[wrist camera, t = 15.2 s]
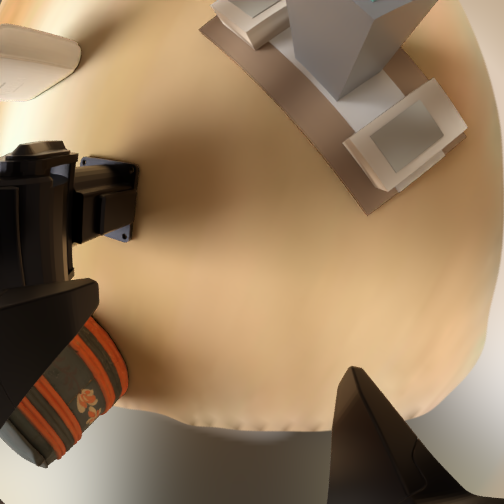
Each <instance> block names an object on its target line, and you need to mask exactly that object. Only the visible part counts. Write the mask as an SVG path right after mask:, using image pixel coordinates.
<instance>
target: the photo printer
mask: <svg viewBox="0 0 504 504" xmlns="http://www.w3.org/2000/svg"><path fill="white" fill-rule="evenodd" d="M80 57H81V49H80V47H79V46H78V43H77V42H75V41H73V40H70V39H67V38H64V37H60V36H57V35H54V34H50V33H46V32H43V31H39V30H35V29H31V28H27V27H22V26H18V25H13V24H1V25H0V101H28V100H31V99H33V98H34V97H36V96H38V95H39V94H41V93H42V92H44V91H45V90H47V89H48V88H50V87H52V86H53V85H55V84H56V83H58V82H59V81H61V80H62V79H64V78H65V77H67V76H68V75H70V74H71V73H72V72H73V71H74V70H75V68H76V67H77V66H78V63H79V61H80Z"/></svg>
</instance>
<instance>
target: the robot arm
mask: <svg viewBox="0 0 504 504" xmlns="http://www.w3.org/2000/svg"><path fill="white" fill-rule="evenodd" d="M77 161H78V153H71V152H70V150H67V149H66V148H65V146H64V143H63V141H38V142H31V143H25V144H20V145H19V146H18V147H17V148H16V149H15V150H14V151H13V152H12V153H9V154H6V155H5V156H2V157H0V430H1V428H2V427H3V425H4V424H5V423H6V421H7V420H8V418H9V417H10V416H11V414H12V413H13V412H14V410H15V408H16V407H17V406H18V405H19V403H20V402H21V401H22V400H23V398H24V397H25V396H26V394H27V393H28V392H29V391H30V389H31V388H32V387H33V386H34V384H35V383H36V382H37V381H38V379H39V378H40V377H41V376H42V375H43V373H44V372H45V371H46V370H47V369H48V367H49V366H50V365H51V364H52V363H53V361H54V360H55V359H56V358H57V357H58V356H59V355H60V353H61V352H62V351H63V350H64V349H65V348H66V347H67V345H68V344H69V343H70V342H71V341H72V340H73V339H74V337H75V336H76V335H77V334H78V333H79V331H80V330H81V329H82V327H83V326H84V324H85V323H86V322H87V320H88V319H89V318H90V316H91V315H92V314H93V312H94V311H95V310H96V308H97V307H98V305H99V286H98V283H97V282H96V281H94V280H92V279H90V278H85V279H77V280H71V279H72V278H73V276H74V268H73V263H72V247H73V246H75V245H77V244H82V243H84V242H87V241H89V240H91V239H94V238H96V237H98V236H103V235H104V236H107V237H110V238H113V239H116V240H119V241H122V242H128V241H130V240H131V238H132V227H133V222H134V214H135V205H136V196H137V192H136V189H137V182H138V175H139V167H138V165H137V164H134V163H128V162H122V161H115V160H108V159H101V158H94V157H83V158H82V159H81V163H80V167H75V166H76V162H77ZM85 161H86V164H85ZM132 168H134V172H132ZM125 234H126V236H127V238H126V237H125ZM331 442H332V443H331V461H330V477H329V489H328V499H327V504H504V499H503V498H492V497H483V496H477V495H474V494H471V493H470V492H468V491H466V490H465V489H464V488H463V487H462V486H461V485H460V484H459V483H458V482H457V481H456V480H455V479H454V478H453V477H452V476H451V475H450V474H449V473H448V472H447V471H446V470H445V469H444V467H443V466H442V465H441V464H440V463H439V462H438V461H437V460H436V459H435V458H434V457H433V455H432V454H431V453H430V452H429V451H428V450H427V448H426V447H425V446H424V445H423V443H422V442H421V441H420V440H419V439H417V436H416V435H415V433H414V432H413V431H412V429H411V428H410V427H409V426H408V424H407V423H406V422H405V421H404V419H403V418H402V417H401V416H400V414H399V413H398V412H397V411H396V409H395V408H394V407H393V406H392V404H391V403H390V402H389V401H388V399H387V398H386V397H385V396H384V394H383V393H382V392H381V391H380V390H379V388H378V387H377V386H376V385H375V383H374V382H373V381H372V380H371V378H370V377H369V376H368V375H367V373H366V372H365V371H364V370H363V369H362V368H359V367H355V366H351V367H349V368H348V370H347V371H346V373H345V375H344V376H343V378H342V380H341V381H340V383H339V386H338V389H337V397H336V404H335V412H334V418H333V425H332V441H331ZM0 504H4V503H3V502H2V501H1V499H0Z"/></svg>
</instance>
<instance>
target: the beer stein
mask: <svg viewBox="0 0 504 504" xmlns="http://www.w3.org/2000/svg"><path fill="white" fill-rule="evenodd" d="M127 387H128V373H127V367H126V364H125V362H124V360H123V358H122V355H121V354H120V352H119V351H118V349H117V347H116V345H115V344H114V342H113V341H112V339H111V338H110V336H109V334H108V333H107V332H106V331H105V330H104V329H103V328H102V327H101V326H100V325H99V324H98V323H97V322H96V321H95V320H94V319H93V318H92V317H91V316H90V318H89V319H88V320H87V322H86V323H85V324H84V326H83V327H82V329H81V330H80V331H79V333H78V334H77V335H76V336H75V337H74V339H73V340H72V341H71V342H70V343H69V344H68V345H67V347H66V348H65V349H64V350H63V351H62V352H61V353H60V355H59V356H58V357H57V358H56V359H55V360H54V361H53V363H52V364H51V365H50V366H49V367H48V369H47V370H46V371H45V372H44V373H43V375H42V376H41V377H40V378H39V379H38V381H37V382H36V383H35V384H34V386H33V387H32V388H31V389H30V391H29V392H28V393H27V394H26V396H25V397H24V398H23V400H22V401H21V402H20V403H19V405H18V406H17V407H16V408H15V410H14V412H13V413H12V414H11V416H10V417H9V418H8V420H7V421H6V423H5V424H4V425H3V427H2V428H1V430H0V437H1V438H2V439H3V441H4V442H5V443H6V444H7V445H8V446H9V447H11V448H12V449H13V450H14V451H15V452H16V453H17V454H19V455H20V456H21V457H23V458H24V459H26V460H28V461H30V462H32V463H34V464H36V465H37V466H40V467H43V468H48V465H49V464H50V463H52V462H53V461H54V460H56V459H58V460H59V459H61V457H62V456H63V455H64V454H65V453H66V452H67V451H68V450H70V448H71V447H73V445H75V444H76V443H77V441H79V440H80V439H81V436H82V433H83V432H84V431H85V430H86V429H87V428H88V427H89V426H90V425H91V424H92V423H93V422H94V421H95V420H96V419H97V418H98V417H99V416H100V415H103V414H105V413H106V412H107V411H108V410H109V409H110V408H111V407H112V406H113V405H114V404H115V403H116V401H117V400H118V399H119V398H120V397H121V396H123V395H124V393H125V392H126V390H127Z"/></svg>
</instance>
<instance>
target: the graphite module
mask: <svg viewBox="0 0 504 504" xmlns="http://www.w3.org/2000/svg"><path fill="white" fill-rule="evenodd" d="M437 1H438V0H286V5H287V10H288V16H289V22H290V28H291V34H292V40H293V47H294V54H295V59H296V60H297V61H298V62H300V63H301V64H302V65H303V66H304V67H305V68H306V69H307V70H308V71H309V72H310V73H311V74H312V75H313V76H314V78H315V79H316V80H317V81H318V82H319V83H320V84H321V85H322V86H323V87H324V88H325V89H326V90H327V91H328V93H329V94H330V95H331V96H332V97H333V98H334V99H335V100H336V101H338V100H340V99H341V98H343V97H344V96H345V95H347V94H348V93H350V92H351V91H353V90H354V89H355V88H357V87H358V86H360V85H361V84H363V83H364V82H366V81H367V80H369V79H370V78H372V77H373V76H375V75H376V74H378V73H379V72H381V70H382V69H383V68H384V67H385V65H386V64H387V63H388V62H389V60H390V59H391V58H392V57H393V55H394V54H395V53H396V52H397V50H398V49H399V48H400V47H401V45H402V44H403V43H404V42H405V40H406V39H407V38H408V37H409V35H410V34H411V33H412V32H413V30H414V29H415V28H416V27H417V25H418V24H419V23H420V22H421V21H422V19H423V18H424V17H425V16H426V14H427V13H428V12H429V11H430V9H431V8H432V7H433V6H434V5H435V3H436V2H437Z"/></svg>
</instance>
